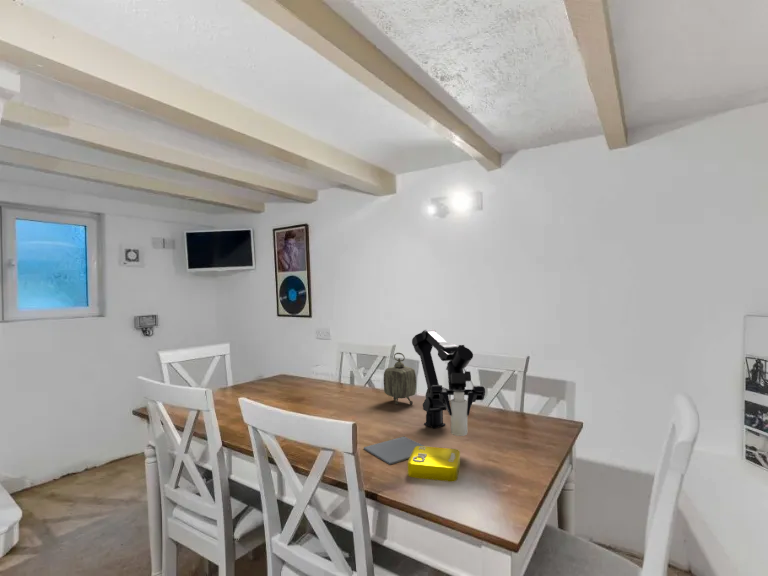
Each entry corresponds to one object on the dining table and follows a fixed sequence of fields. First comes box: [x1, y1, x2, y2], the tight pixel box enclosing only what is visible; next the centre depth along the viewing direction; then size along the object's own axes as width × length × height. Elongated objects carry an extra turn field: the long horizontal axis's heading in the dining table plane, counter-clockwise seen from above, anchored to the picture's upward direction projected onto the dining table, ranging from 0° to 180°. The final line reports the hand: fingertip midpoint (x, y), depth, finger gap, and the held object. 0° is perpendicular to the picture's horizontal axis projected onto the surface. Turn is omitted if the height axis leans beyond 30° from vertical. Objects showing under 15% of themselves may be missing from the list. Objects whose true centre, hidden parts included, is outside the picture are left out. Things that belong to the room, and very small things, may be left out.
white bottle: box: [450, 391, 468, 437], centre depth 139 cm, size 6×6×14 cm
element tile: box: [407, 445, 461, 483], centre depth 127 cm, size 15×15×5 cm
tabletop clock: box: [383, 352, 417, 405], centre depth 199 cm, size 14×9×25 cm, turn 46°
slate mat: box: [363, 436, 424, 466], centre depth 141 cm, size 18×16×1 cm
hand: (459, 415), depth 138 cm, fingers closed on white bottle, 6 cm apart
